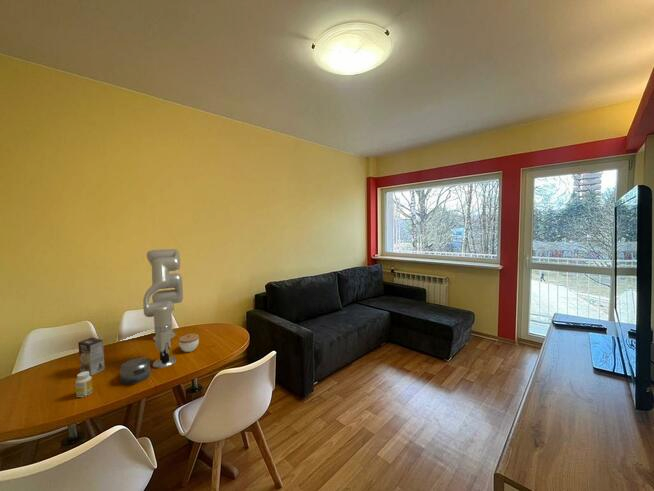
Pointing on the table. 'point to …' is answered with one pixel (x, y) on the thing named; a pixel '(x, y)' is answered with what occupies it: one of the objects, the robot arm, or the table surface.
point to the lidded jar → (189, 342)
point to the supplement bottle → (83, 384)
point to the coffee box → (91, 355)
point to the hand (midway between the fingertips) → (164, 360)
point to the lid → (159, 363)
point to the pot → (135, 370)
